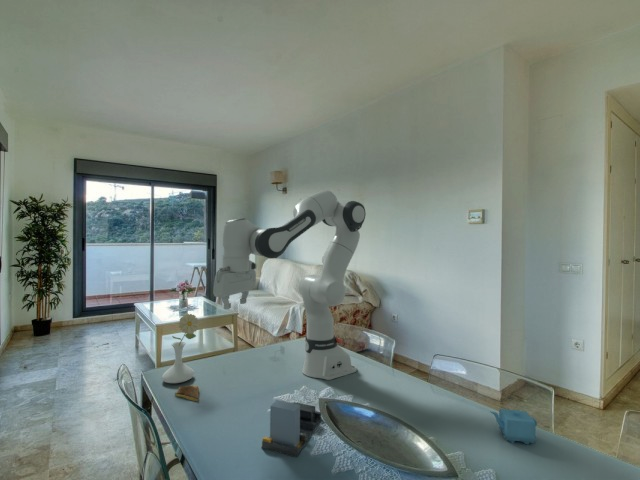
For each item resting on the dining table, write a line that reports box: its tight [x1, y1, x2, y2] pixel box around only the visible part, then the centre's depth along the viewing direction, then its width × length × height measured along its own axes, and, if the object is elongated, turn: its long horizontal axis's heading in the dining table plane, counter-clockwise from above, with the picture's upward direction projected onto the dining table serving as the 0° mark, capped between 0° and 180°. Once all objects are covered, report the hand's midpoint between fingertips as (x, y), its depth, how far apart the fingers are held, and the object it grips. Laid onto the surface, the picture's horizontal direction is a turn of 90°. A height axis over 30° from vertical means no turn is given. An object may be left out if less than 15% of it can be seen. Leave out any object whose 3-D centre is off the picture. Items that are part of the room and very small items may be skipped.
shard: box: [174, 385, 200, 402], centre depth 116 cm, size 11×8×2 cm
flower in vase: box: [161, 313, 200, 384], centre depth 129 cm, size 13×11×25 cm
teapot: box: [490, 408, 538, 445], centre depth 94 cm, size 12×6×8 cm, turn 79°
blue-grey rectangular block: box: [269, 399, 300, 446], centre depth 90 cm, size 7×4×10 cm, turn 70°
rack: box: [261, 401, 323, 458], centre depth 95 cm, size 10×19×4 cm, turn 160°
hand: (235, 306), depth 115 cm, fingers open, 8 cm apart
